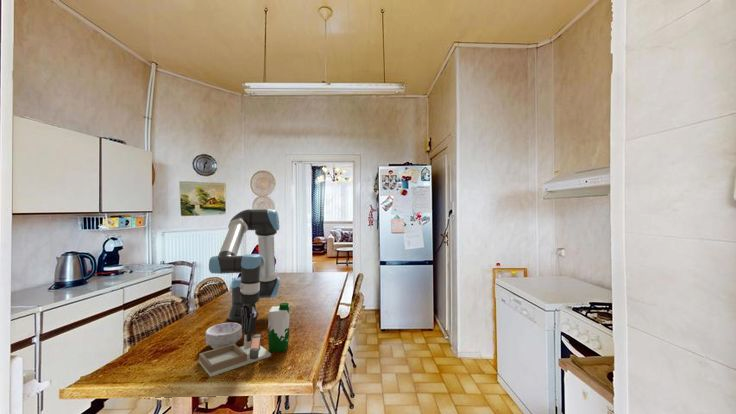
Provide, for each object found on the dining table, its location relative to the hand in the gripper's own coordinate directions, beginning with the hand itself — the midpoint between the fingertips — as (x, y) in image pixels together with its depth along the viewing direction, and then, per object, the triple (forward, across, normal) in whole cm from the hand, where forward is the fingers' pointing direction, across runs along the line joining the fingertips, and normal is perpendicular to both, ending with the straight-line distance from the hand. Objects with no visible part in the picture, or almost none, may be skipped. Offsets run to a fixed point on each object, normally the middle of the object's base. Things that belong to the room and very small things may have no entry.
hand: (247, 348), depth 127 cm
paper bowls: (+6, -21, -2) cm, 22 cm away
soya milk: (+5, -1, +15) cm, 16 cm away
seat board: (+5, -4, -3) cm, 7 cm away
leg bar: (+1, +2, +3) cm, 3 cm away
